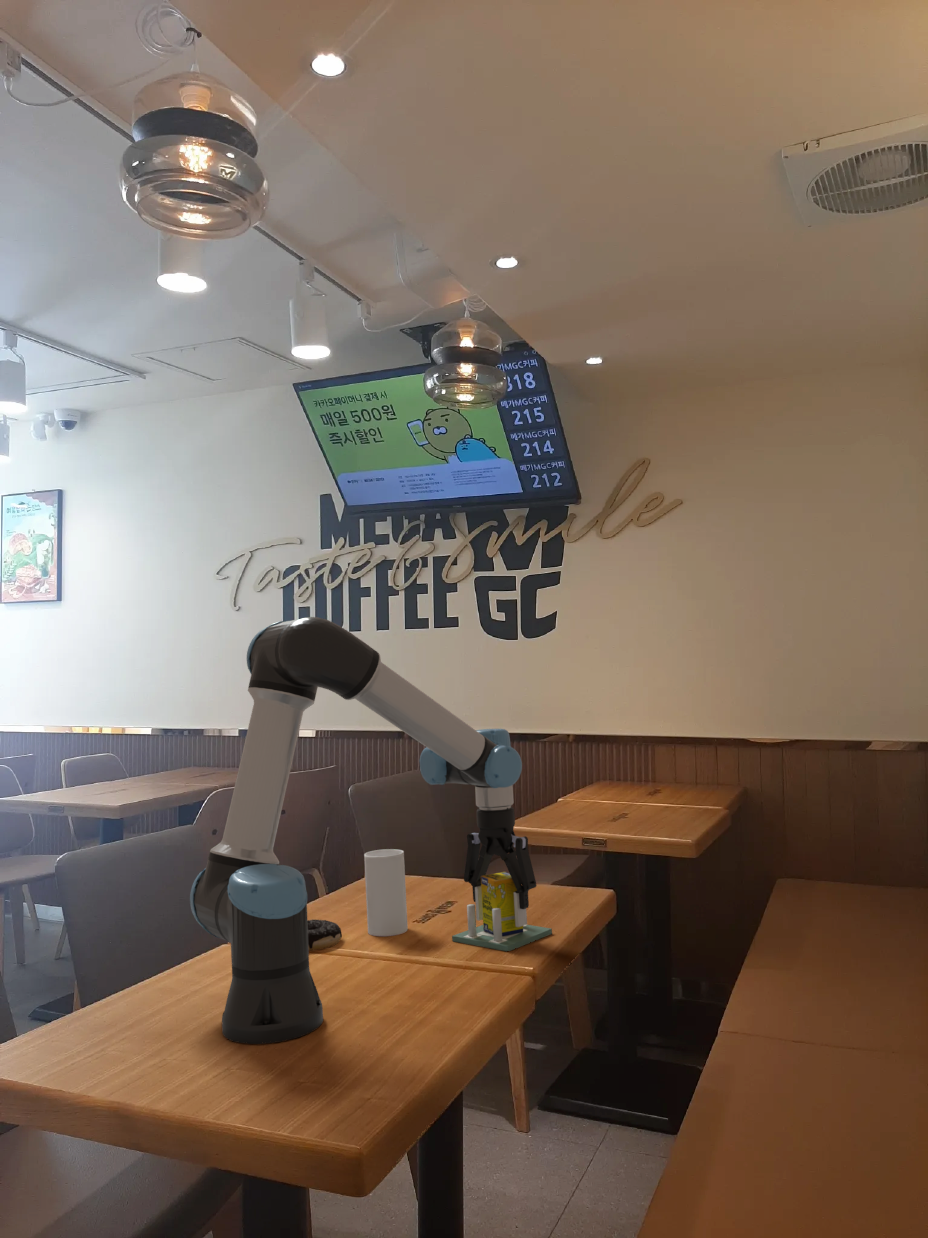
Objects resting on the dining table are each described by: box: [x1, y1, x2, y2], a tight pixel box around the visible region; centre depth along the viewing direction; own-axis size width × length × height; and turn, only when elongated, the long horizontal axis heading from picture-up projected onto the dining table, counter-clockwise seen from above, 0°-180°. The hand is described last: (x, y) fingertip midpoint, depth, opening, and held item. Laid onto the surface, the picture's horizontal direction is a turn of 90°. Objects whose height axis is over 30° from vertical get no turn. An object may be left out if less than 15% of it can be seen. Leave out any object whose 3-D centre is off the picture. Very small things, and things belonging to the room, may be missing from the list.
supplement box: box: [481, 871, 523, 937], centre depth 189 cm, size 6×6×11 cm
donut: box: [307, 919, 343, 952], centre depth 192 cm, size 11×12×4 cm
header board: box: [451, 903, 553, 952], centre depth 189 cm, size 14×14×7 cm
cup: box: [363, 848, 409, 937], centre depth 199 cm, size 8×8×16 cm
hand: (501, 922), depth 189 cm, fingers open, 9 cm apart
